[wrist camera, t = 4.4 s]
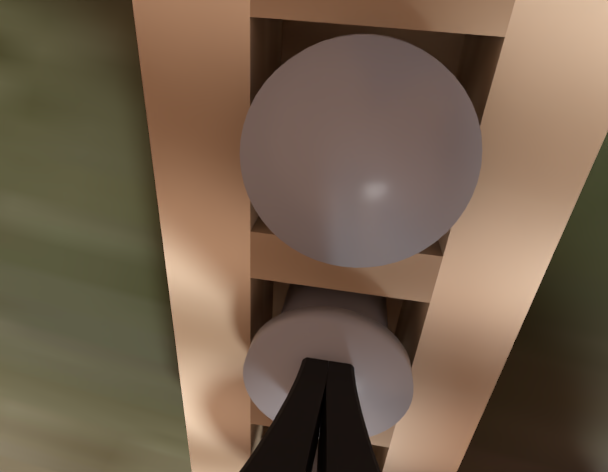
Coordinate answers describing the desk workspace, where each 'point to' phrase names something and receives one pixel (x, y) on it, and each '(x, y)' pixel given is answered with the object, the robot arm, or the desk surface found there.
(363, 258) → the knob
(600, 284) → the desk surface
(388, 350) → the knob middle
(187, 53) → the knob mount
